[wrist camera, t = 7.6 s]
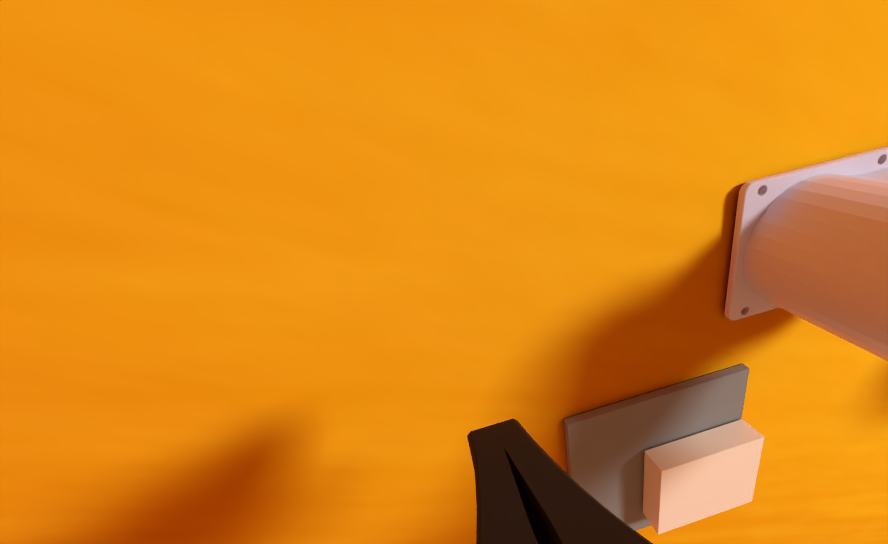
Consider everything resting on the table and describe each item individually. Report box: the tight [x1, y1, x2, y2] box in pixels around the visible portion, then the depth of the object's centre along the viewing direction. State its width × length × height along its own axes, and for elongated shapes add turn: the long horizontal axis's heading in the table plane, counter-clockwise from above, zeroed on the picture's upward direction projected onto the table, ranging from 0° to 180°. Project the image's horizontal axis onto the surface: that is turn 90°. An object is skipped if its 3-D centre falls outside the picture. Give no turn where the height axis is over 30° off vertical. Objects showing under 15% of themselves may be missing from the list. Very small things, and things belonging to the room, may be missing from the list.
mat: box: [564, 364, 749, 531], centre depth 28 cm, size 12×12×1 cm
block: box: [643, 419, 764, 534], centre depth 27 cm, size 2×6×7 cm
